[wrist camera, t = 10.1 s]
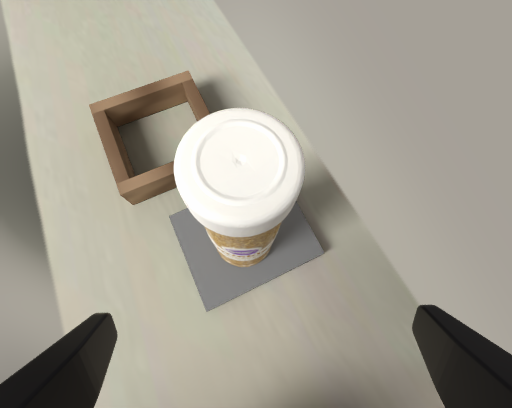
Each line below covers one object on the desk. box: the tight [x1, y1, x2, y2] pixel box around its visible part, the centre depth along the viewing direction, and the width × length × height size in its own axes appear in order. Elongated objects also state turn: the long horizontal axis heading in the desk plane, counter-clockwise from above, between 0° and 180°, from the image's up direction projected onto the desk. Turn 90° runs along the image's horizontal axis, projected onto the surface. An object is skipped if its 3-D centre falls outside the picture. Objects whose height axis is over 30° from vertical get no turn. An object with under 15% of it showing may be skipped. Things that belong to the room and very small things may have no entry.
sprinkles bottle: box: [174, 108, 305, 267], centre depth 16 cm, size 5×5×13 cm
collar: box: [89, 71, 210, 205], centre depth 24 cm, size 9×9×2 cm
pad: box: [169, 202, 324, 312], centre depth 22 cm, size 10×8×1 cm
